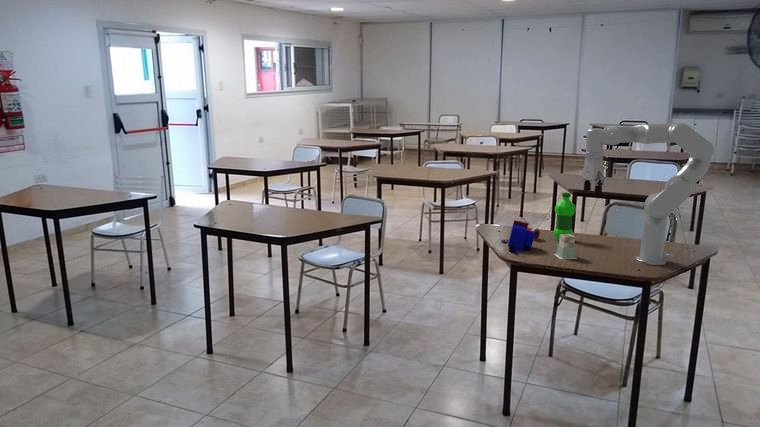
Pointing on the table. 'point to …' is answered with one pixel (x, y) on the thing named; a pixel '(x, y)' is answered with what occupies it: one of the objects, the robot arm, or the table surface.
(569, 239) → the maple cube
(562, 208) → the plastic bottle
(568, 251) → the sage block
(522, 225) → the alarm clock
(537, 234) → the toy hammer
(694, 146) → the robot arm
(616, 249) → the table surface
